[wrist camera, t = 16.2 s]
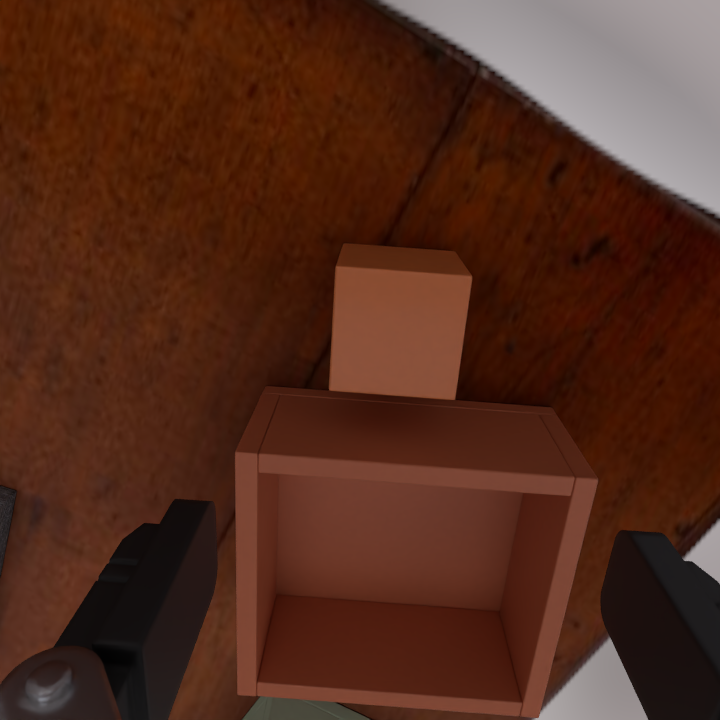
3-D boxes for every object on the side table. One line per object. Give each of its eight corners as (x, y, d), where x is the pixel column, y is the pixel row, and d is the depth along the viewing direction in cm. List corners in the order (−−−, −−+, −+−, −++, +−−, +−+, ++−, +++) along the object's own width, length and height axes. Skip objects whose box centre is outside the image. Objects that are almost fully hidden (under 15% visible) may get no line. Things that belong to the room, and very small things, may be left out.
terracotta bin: (552, 406, 25) (599, 479, 20) (509, 612, 29) (539, 718, 24) (265, 385, 25) (234, 451, 20) (263, 593, 30) (237, 695, 24)
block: (455, 251, 23) (473, 276, 19) (442, 356, 25) (455, 401, 20) (343, 242, 23) (335, 265, 19) (337, 348, 25) (328, 391, 20)
